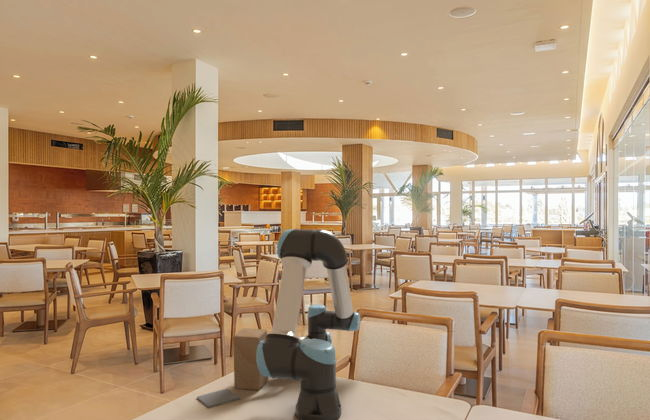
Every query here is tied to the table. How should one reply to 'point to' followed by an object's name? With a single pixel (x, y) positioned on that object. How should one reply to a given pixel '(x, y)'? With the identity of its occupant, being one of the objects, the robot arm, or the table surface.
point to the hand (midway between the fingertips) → (252, 358)
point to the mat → (218, 398)
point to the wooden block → (248, 359)
